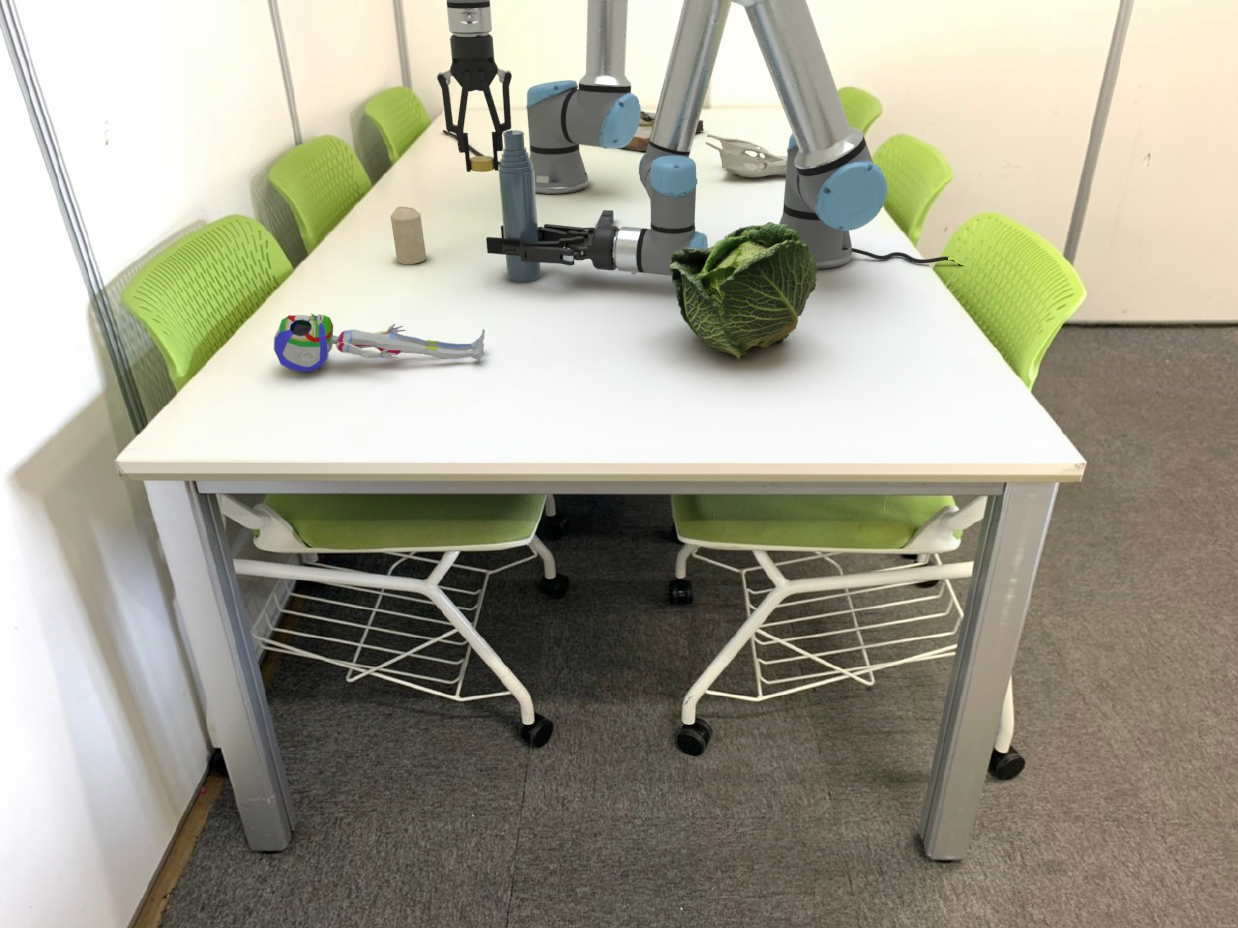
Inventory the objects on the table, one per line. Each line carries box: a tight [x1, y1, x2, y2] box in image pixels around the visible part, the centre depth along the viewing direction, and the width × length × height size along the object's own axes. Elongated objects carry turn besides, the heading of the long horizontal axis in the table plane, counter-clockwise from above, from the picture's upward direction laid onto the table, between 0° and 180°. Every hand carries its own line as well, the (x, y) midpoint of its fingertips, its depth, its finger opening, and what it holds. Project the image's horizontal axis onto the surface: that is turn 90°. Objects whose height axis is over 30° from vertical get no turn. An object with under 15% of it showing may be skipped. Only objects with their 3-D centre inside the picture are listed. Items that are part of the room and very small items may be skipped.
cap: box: [470, 155, 495, 173], centre depth 169 cm, size 5×5×2 cm
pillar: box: [594, 209, 615, 229], centre depth 182 cm, size 2×2×20 cm
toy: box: [273, 313, 486, 373], centre depth 132 cm, size 10×8×30 cm
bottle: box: [498, 129, 542, 283], centre depth 157 cm, size 6×6×25 cm
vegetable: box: [669, 221, 818, 360], centre depth 133 cm, size 20×19×20 cm
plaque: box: [622, 109, 705, 152], centre depth 257 cm, size 30×7×30 cm
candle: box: [390, 205, 427, 265], centre depth 169 cm, size 6×6×10 cm
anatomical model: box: [705, 133, 788, 178], centre depth 218 cm, size 15×9×25 cm
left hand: (482, 169), depth 170 cm, fingers closed on cap, 4 cm apart
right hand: (495, 239), depth 162 cm, fingers closed on bottle, 6 cm apart
